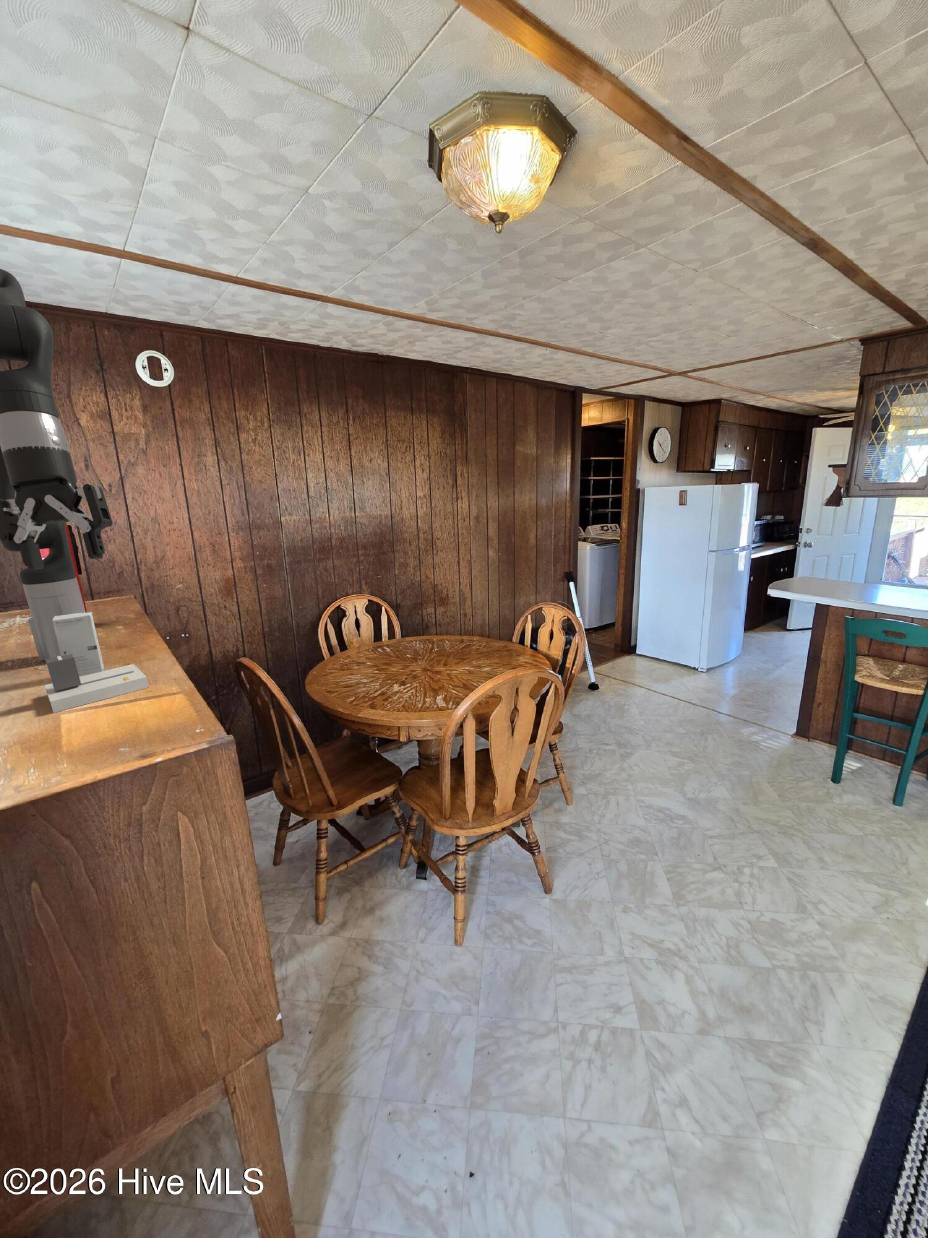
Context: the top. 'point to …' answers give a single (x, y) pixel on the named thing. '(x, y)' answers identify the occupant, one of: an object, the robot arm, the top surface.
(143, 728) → the top surface
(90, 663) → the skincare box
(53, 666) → the fader knob
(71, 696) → the fader console
